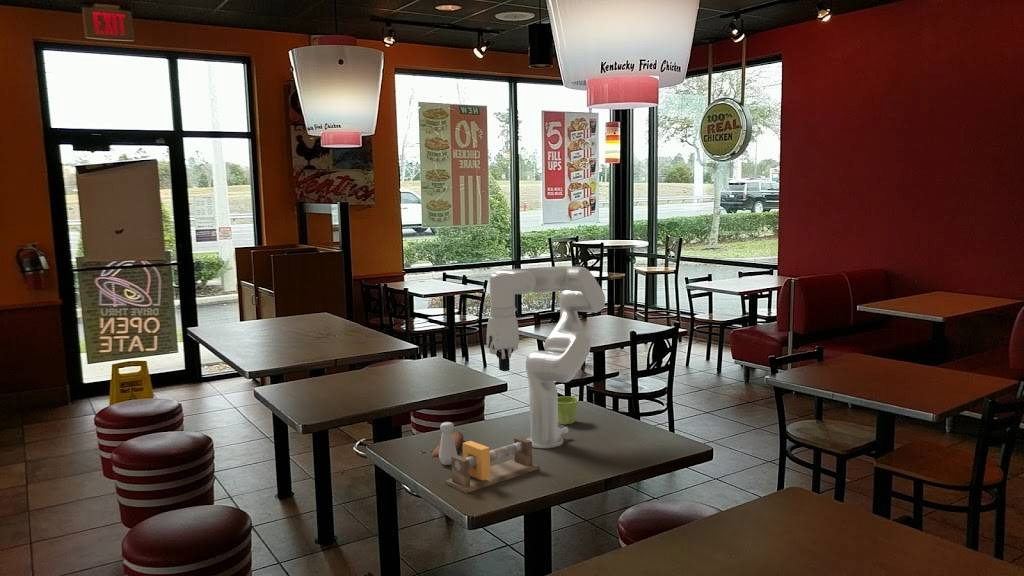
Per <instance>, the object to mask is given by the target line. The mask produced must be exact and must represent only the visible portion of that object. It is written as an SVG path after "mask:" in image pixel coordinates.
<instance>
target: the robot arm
mask: <svg viewBox="0 0 1024 576" xmlns="http://www.w3.org/2000/svg"><path fill="white" fill-rule="evenodd" d="M553 292H554V293H555V292H561V293H560V294H559V301H558V302H559V311H560V312H559V313H560V314H559V315H560V316H559V320H558V322H557V324H556V325H555V326H554V328H553V329H552V330H551V332H550V333H549V334H548V335H547V337H546V339H545V341H544V344H543V348H544V350H534V351H532V352H530V353H529V354H528V355H527V357H526V359H525V372H526V376H527V381H528V389H529V390H528V393H529V395H528V396H529V397H528V398H529V429H530V430H529V432H530V433H529V435H530V436H529V437H527V438H526V439H527V440H530V441H532V448H534V449H535V448H536V449H555V448H557V447H561V446H562V445H563V444H564V438H563V437H562V435H563V434H567V433H569V428H568V427H567V426H565V427H561V428H560V426H559V422H558V397H559V396H558V395H559V393H558V388H557V386H556V383H569V382H570V381H571V380H573V379H574V377H575V376H576V375H577V373H578V372H579V370H580V369H581V368H582V366H583V365H584V363H585V361H586V360H587V358H588V356H589V354H590V352H591V351H590V349H591V340H590V338H589V336H588V335H587V334H585V332H582V330H583V329H582V327H583V326H582V325H583V324H582V321H581V319H580V317H579V314H578V312H582V313H584V312H585V313H599V312H601V311H602V310H603V309H604V307H605V304H606V296H605V293H604V291H603V289H602V288H601V286H600V284H599V283H598V281H597V279H596V277H595V276H594V275H593V273H592V272H591V271H590V270H589V269H588V268H586V267H584V266H568V265H567V266H565V265H561V266H559V265H557V266H542V267H541V266H539V267H538V266H537V267H528V268H509V269H508V268H505V269H499V270H497V271H495V272H494V273H491V275H490V276H489V296H490V297H489V298H490V303H489V304H490V317H488V318H487V319H488V321H487V326H486V348H487V349H489V351H488V352H489V354H491V355H495V356H496V358H497V359H498V369H499V371H501V372H509V371H510V370H511V369H510V368H511V366H510V359H511V357H512V355H513V352H515V351H517V350H518V349H519V344H520V331H519V322H518V319H517V316H516V313H515V312H517V310H518V309H517V307H516V306H515V303H516V302H515V295H527V294H529V293H535V294H537V293H539V294H541V293H553ZM555 382H556V383H555Z"/></svg>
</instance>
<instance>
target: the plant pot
mask: <svg viewBox="0 0 1024 576" xmlns="http://www.w3.org/2000/svg"><path fill="white" fill-rule="evenodd" d="M578 402H579V398H578V397H575V396H558V425H559V424H560V425H563V426H566V425H572V424H574V423H575V421H576V420H575V419H576V412H577V411H576V410H577V404H578Z"/></svg>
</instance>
